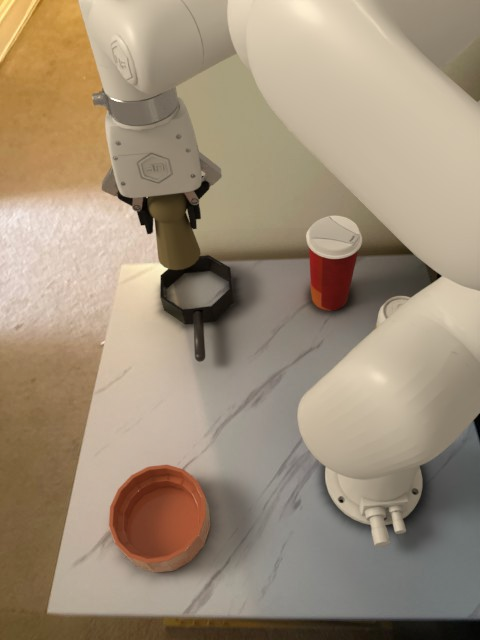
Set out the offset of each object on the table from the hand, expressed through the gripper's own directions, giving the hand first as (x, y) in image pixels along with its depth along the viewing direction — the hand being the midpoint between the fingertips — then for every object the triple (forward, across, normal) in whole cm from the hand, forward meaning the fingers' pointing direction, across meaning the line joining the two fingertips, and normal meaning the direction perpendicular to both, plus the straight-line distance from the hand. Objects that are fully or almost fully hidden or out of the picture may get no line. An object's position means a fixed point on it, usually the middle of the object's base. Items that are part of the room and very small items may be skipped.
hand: (172, 223), depth 75 cm
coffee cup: (+23, +23, +4) cm, 33 cm away
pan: (+23, +1, +2) cm, 23 cm away
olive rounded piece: (+6, 0, 0) cm, 6 cm away
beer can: (+24, +29, -12) cm, 39 cm away
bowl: (+23, -5, -32) cm, 40 cm away
